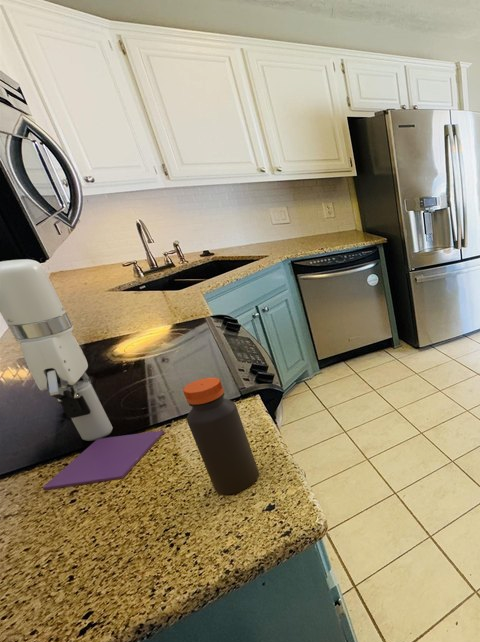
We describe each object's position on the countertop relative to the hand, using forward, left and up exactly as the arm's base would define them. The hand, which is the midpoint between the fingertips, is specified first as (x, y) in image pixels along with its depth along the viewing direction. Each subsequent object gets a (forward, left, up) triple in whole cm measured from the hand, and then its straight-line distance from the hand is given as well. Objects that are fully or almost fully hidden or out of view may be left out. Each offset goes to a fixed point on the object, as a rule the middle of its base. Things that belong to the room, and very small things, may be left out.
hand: (84, 408), depth 83 cm
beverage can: (0, 0, -7) cm, 7 cm away
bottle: (+34, -23, -7) cm, 42 cm away
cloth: (+7, -10, -7) cm, 14 cm away
